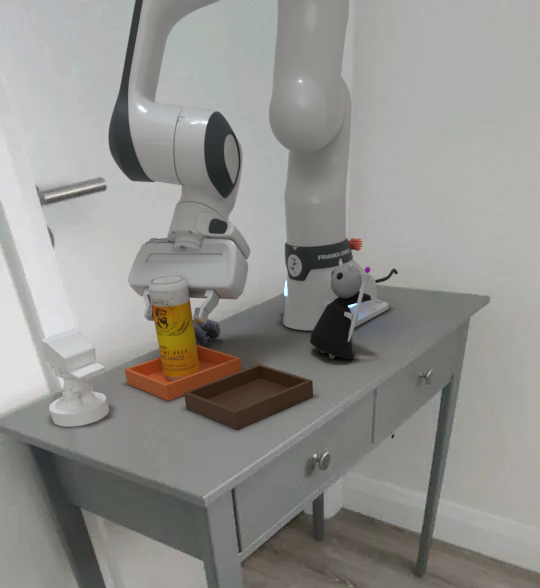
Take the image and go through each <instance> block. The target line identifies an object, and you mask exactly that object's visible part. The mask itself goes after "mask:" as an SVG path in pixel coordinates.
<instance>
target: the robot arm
mask: <svg viewBox="0 0 540 588" xmlns="http://www.w3.org/2000/svg"><path fill="white" fill-rule="evenodd" d="M220 1H221V0H135V1H134V6H133V12H132V17H131V21H130V22H131V23H130V28H129V35H128V40H127V45H126V50H125V51H126V52H125V57H124V62H123V64H124V65H123V69H122V74H121V79H120V80H121V81H120V85H119V90H118V94H117V97H116V100H115V104H114V107H113V110H112V114H111V116H110V121H109V126H108V137H107V139H108V148H109V152H110V155H111V157H112V159H113V161H114V163H115V164H116V166H117V167H118V169H119V170H120V171H121V172H122V173H123V174H124V176H126V177H127V178H128V179H129V181H132V182H141V183H155V182H156V183H157V182H158V183H163V184H164V183H165V184H168V185H169V184H170V185H176V186H181V194H180V198H179V200H178V201H177V203H176V204H175V206H174V210H173V214H172V218H171V221H170V226H169V228H168V233H167V236H166V237H161V238H157V237H152V238H149V240H147V241H146V242H145V243H143V244H141V246H140V248H139V250H138V252H137V254H136V256H135V258H134V260H133V263H132V266H131V267H130V271H129V275H128V277H127V281H128V284H129V286H130V288H131V289H132V290H133V291H134V293H136V294H137V295H138V296H139V297H143V300H144V304H145V308H144V313H143V316H144V318H145V319H146V320H147V321H149V322H150V321H151V322H154V316H153V311H152V305H151V300H150V294H149V285H150V279H152V278H154V277H157V276H162V275H170V274H178V275H183V276H184V279H185V281H186V282H187V284H188V290H189V297H190V299H205V300H204V301H203V302H202V304H201V305H200V306H199V307H195V308H194V313H193V315H192V318H193V320H195V321H196V322H197V323H202V324H206V322H207V319H209V315H211V313H212V312H213V311H214V310H215V309H216V308H217V307H218V305H219V302H220V300H237V299H238V298H240V297H241V296H242V295H243V293H244V290H245V286H246V283H247V278H248V273H249V263H248V259H249V257H250V255H251V248H250V246H249V243H248V242H247V240H246V239H245V236H244V235H243V234H242V232H241V231H240V230H239V228H238V227H237V226H236V225H235V224H234V223H233V222H231V221H229V219H230V215H231V213H232V212H233V210H234V208H235V205H236V202H237V198H238V194H239V190H240V184H241V178H242V171H243V162H244V161H243V160H244V155H243V154H244V153H243V148H242V144H241V143H240V141H239V139H238V138H237V136H236V133H235V132H234V130H233V128H232V125H231V124H230V122H229V121H228V120H227V118H226V117H225V116H224V115H223V114H222V112H220V111H217V110H214V109H210V108H204V107H198V106H197V107H196V106H191V105H186V106H185V105H184V106H183V105H176V104H169V103H164V102H163V103H162V102H156V95H157V91H158V85H159V79H160V75H161V70H162V64H163V60H164V54H165V49H166V45H167V40H168V37H169V35H170V33H171V31H172V30H173V28H174V27H175V26H176V24H178V22H180V21H182V19H184V18H185V17H187V16H188V15H190V14H192V13H194V12H196V11H198V10H199V9H203V8H205V7H208V6H211V5H213V4H217V3H218V2H220ZM276 3H277V24H276V37H275V46H274V47H275V49H274V59H273V71H272V86H271V87H272V88H271V98H270V103H269V108H268V120H269V125H270V129H271V131H272V132H271V133H272V134H273V137H274V138H275V139H276V140H277V141H278V143H279V144H280V145H281V146H282V147H284V148H285V149H286V150H288V155H287V157H288V158H287V171H286V182H285V188H284V193H283V196H284V197H283V198H284V215H285V218H284V219H285V235H286V237H285V238H286V242H285V243H284V260H285V261H284V263H285V264H284V265H285V267H286V271H287V272H286V273H287V274H286V280H285V285H284V297H285V303H284V310H283V319H282V324H283V325H284V326H285V327H286V328H288V329H292V330H297V331H310V332H312V331H313V329H314V327H315V325H316V324H317V322H318V320H319V319H320V317H321V315H322V313H323V312H324V310H325V308H326V307H325V306H323V303H324V300H325V301H330V302H333V301H334V300H335V299H336V298H338V296H337V295H336V294H335V293H334V292H333V291H332V288H331V274H332V272H333V271H334V270H335V269H336V268H337V267H338V266H339V260H340V258H341V260H342V263H343V264H350V262H351V264H352V265H354V266H355V267H357V269H358V270H359V271H360V273H361V277H362V283H363V276H362V274H365V275H369V276H370V278H369V279H368V281H367V283H366V286H365V290H364V293H365V294H368V295H370V296H371V300H370V301H365V302H361V305H360V308H359V312H358V320H357V321H356V323H355V327H354V329H355V328H357V327H358V326H360V325H362V324H364V323H366V322H368V321H370V320H372V319H374V318H375V317H377V316H380V315H381V314H382V313H384V312H386V311H388V310H389V309H390V308H389V307H390V306H389V305H390V304H389V303H388V302H386V301H385V300H382V299H379V298H378V290H377V284H378V283H383V282H386V281H388V280H389V279H390V278H391V277H392V276H393V275H394V274H395V275H398V274H399V272H398V270H397V269H396V268H392V269H391V270H390V272H388V275H386V276H385V277H382V278H377V279H376V278H375V277H374V276H373V274H371V273H370V272H369V273H366V272H365V268H364V267H363V266H361V264H359V263H358V262H357V261H356V260H355V259H354V255H353V252H352V251H357V252H359V251H361V250H362V248H363V240H362V239H361V238H354V237H352V238H350V239H348V238H347V184H348V183H347V182H348V172H349V171H348V170H349V160H350V159H349V158H350V144H351V129H352V125H351V124H352V108H353V106H352V105H353V103H352V96H351V92H350V89H349V86H348V85H347V83H346V81H345V79H344V78H343V77H342V71H343V70H342V68H343V59H344V51H345V41H346V36H347V35H346V34H347V28H348V27H347V26H348V22H349V17H350V0H277V2H276ZM361 286H362V284H361ZM360 290H361V287H360ZM360 290H359V291H360ZM356 305H357V304H353V305H348V306H349V308H350V311H351V314H354V312H355V309H356ZM351 324H352V320H351ZM390 436H391V435H390ZM394 437H395V433H394V434H393V435H392V436H391V437H390V438H391V439H394Z"/></svg>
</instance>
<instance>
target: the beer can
mask: <svg viewBox="0 0 540 588" xmlns="http://www.w3.org/2000/svg"><path fill="white" fill-rule="evenodd" d="M149 294H150V300H151V305H152V311H153V316H154V321H153V322H154V328H155V333H156V338H157V344H158V350H159V357H161V361H162V367H163V372H164V374H165V375H166V376H167V377H168V379H170V380H173V381H175V380H178V379H181V378H184V377H186V376H189V375H192V374H195V373H197V372H198V371H199V369H200V367H199V360H198V353H197V346H196V339H195V332H194V325H193V320H194V318H193V312H192V304H191V298H190V297H189V290H188V284H187V282H186V281H185V279H184V276H183V275H178V274H170V275H162V276H157V277H154V278H152V279H150V285H149Z"/></svg>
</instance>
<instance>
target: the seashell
mask: <svg viewBox="0 0 540 588" xmlns="http://www.w3.org/2000/svg"><path fill="white" fill-rule="evenodd" d="M193 325H194V332H195V339H196V345H199V346H203V347H206V345H207V340H210V341H214V340H216V339H218V338H219V337H220V334H221V326H220V324H219V323H218V322H217V321H215V320H212V319H209V318H208V319H207V322H206V324H202V323H197V322H196V321H195V320H194V319H193ZM207 338H208V339H207Z"/></svg>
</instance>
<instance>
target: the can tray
mask: <svg viewBox="0 0 540 588" xmlns="http://www.w3.org/2000/svg"><path fill="white" fill-rule="evenodd" d="M196 346H197V353H198V360H199V367H200V369H199V371H198V372H197V373H195V374H192V375H189V376H186V377H184V378H181V379H178V380H175V381H173V380H170V379H168V377H167V376H166V375H165V374H164V372H163V367H162V361H161V356H159V357H155V358H154V359H151V360H148V361H145V362H141V363H139V364H136V365H133V366H130V367H127V368H124V375H125V378H126V383H127V385H129V386H131V387H134V388H136V389H138V390H141V391H143V392H147V393H148V394H151V395H153V396H155V397H158V398H160V399H162V400H165V401H167V402H169V401H172V400H175V399H179V398H180V397H183V396H184V393H185V392H187V391H190V390H192V389H195V388H198V387H200V386H203V385H205V384H208V383H211V382H213V381H216V380H219V379H221V378H224V377H227V376H229V375H232V374H235V373H237V372H240V371H243V369H242V360H241V357H238V356H235V355H232V354H228V353H225V352H221V351H218V350H215V349H212V348H208V347H206V346H204V347H203V346H199V345H196Z"/></svg>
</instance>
